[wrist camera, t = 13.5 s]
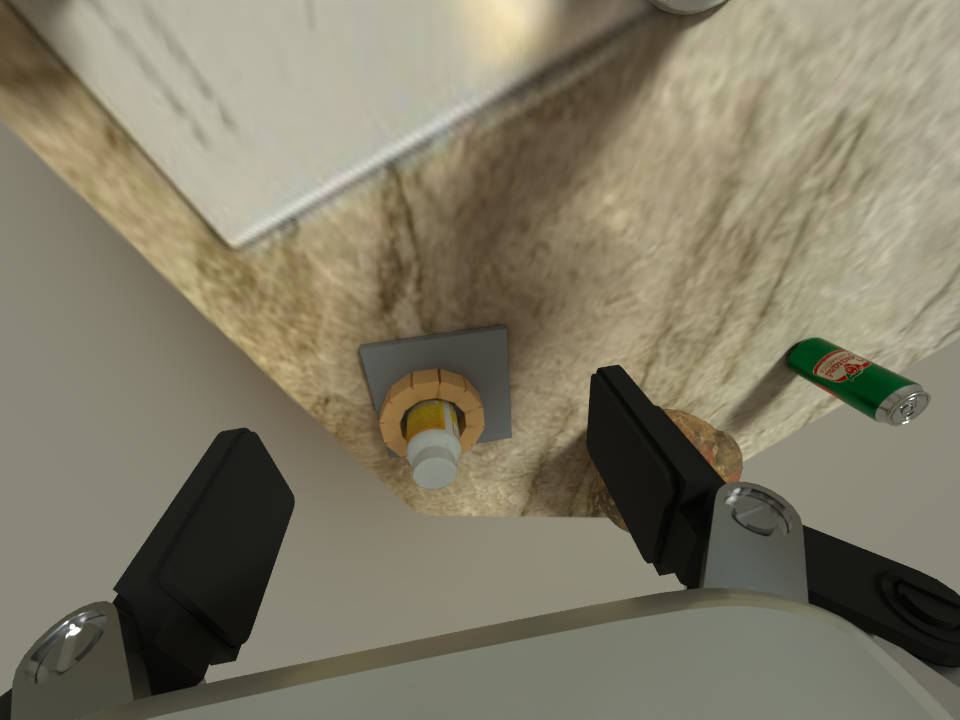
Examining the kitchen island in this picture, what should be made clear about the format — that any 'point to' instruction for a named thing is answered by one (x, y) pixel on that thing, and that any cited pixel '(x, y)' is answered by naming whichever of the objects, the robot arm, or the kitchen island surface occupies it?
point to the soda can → (858, 382)
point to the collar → (425, 388)
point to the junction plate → (457, 352)
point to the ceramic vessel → (706, 440)
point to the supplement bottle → (433, 442)
